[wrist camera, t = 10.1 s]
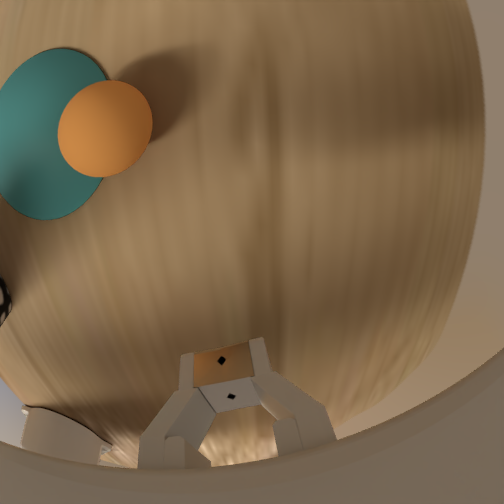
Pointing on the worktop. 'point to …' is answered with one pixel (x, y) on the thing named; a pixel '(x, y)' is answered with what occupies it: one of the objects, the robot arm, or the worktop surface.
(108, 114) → the ball
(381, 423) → the robot arm
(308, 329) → the worktop surface
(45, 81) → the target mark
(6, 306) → the spotted tube
